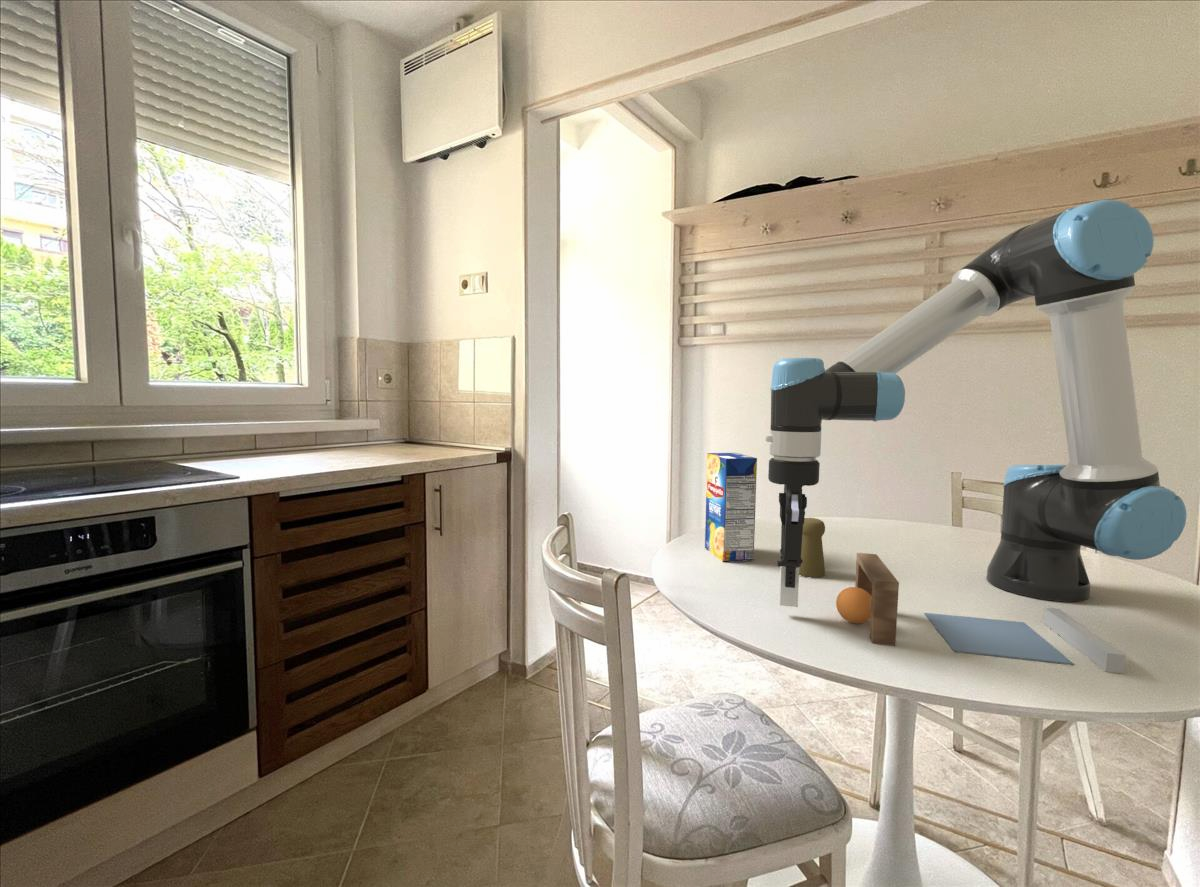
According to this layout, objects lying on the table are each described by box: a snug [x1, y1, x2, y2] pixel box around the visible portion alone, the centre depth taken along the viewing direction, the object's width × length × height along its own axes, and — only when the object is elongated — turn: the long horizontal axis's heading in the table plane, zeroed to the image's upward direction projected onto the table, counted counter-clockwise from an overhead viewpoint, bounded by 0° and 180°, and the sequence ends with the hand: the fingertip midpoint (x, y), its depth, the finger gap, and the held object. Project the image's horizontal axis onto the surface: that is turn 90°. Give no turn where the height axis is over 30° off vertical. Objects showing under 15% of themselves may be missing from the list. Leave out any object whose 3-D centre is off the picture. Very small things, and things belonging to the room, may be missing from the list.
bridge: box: [854, 552, 900, 647], centre depth 87 cm, size 3×14×9 cm, turn 165°
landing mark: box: [923, 612, 1075, 666], centre depth 83 cm, size 14×14×1 cm
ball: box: [835, 586, 872, 625], centre depth 88 cm, size 6×6×6 cm
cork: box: [799, 517, 826, 579], centre depth 111 cm, size 6×6×11 cm
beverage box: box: [704, 452, 758, 562], centre depth 124 cm, size 7×11×22 cm, turn 10°
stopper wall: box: [1042, 607, 1127, 674], centre depth 80 cm, size 2×16×2 cm, turn 165°
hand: (788, 604), depth 90 cm, fingers closed
